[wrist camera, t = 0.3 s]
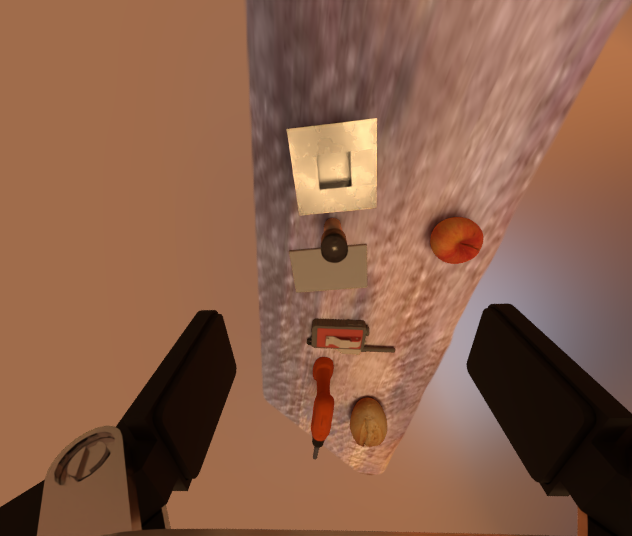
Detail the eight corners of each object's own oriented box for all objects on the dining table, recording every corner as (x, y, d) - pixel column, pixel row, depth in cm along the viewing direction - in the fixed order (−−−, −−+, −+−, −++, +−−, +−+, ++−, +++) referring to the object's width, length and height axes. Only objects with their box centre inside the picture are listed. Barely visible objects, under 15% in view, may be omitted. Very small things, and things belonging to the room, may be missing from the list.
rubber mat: (289, 250, 47) (289, 251, 46) (366, 243, 46) (366, 245, 45) (296, 290, 51) (296, 292, 51) (366, 285, 50) (367, 287, 50)
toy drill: (306, 409, 68) (303, 471, 54) (315, 353, 61) (313, 408, 47) (324, 410, 68) (325, 473, 54) (335, 355, 61) (339, 411, 47)
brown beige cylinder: (317, 224, 44) (315, 248, 36) (334, 211, 43) (337, 233, 34) (330, 240, 46) (331, 267, 37) (347, 228, 44) (353, 253, 36)
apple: (421, 216, 43) (440, 233, 36) (467, 205, 42) (496, 221, 35) (424, 254, 46) (441, 277, 40) (466, 245, 45) (492, 267, 38)
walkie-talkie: (306, 345, 59) (393, 349, 59) (305, 360, 55) (397, 364, 55) (307, 316, 55) (400, 319, 55) (306, 330, 51) (406, 334, 51)
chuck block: (292, 128, 37) (286, 129, 32) (368, 119, 36) (376, 118, 31) (302, 203, 43) (299, 215, 37) (369, 196, 42) (376, 208, 36)
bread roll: (351, 427, 75) (354, 458, 68) (346, 395, 67) (348, 426, 60) (384, 425, 74) (391, 456, 67) (382, 392, 66) (389, 424, 59)
